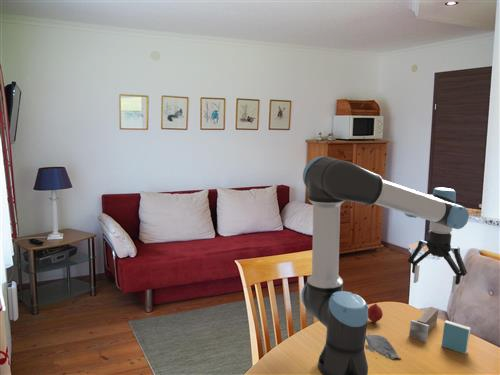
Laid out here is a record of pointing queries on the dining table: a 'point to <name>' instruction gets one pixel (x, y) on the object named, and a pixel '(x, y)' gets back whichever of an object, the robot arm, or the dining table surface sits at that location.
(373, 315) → the onion
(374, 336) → the stone slab
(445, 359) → the dining table surface
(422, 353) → the dining table surface
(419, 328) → the scraper
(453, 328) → the tile
